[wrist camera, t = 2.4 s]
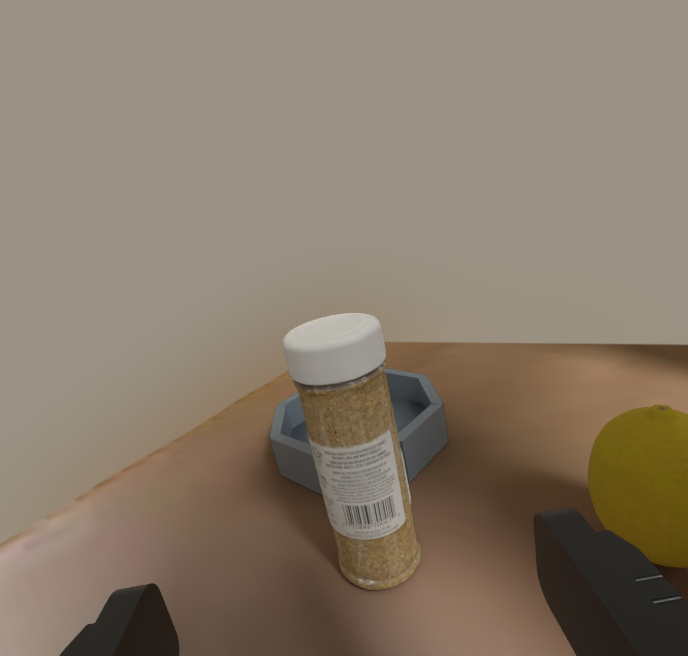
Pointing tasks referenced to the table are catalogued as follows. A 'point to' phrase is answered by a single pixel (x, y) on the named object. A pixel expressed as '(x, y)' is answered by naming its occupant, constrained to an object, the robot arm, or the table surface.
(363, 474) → the spice jar
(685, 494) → the lemon
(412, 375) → the bowl
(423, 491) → the table surface
